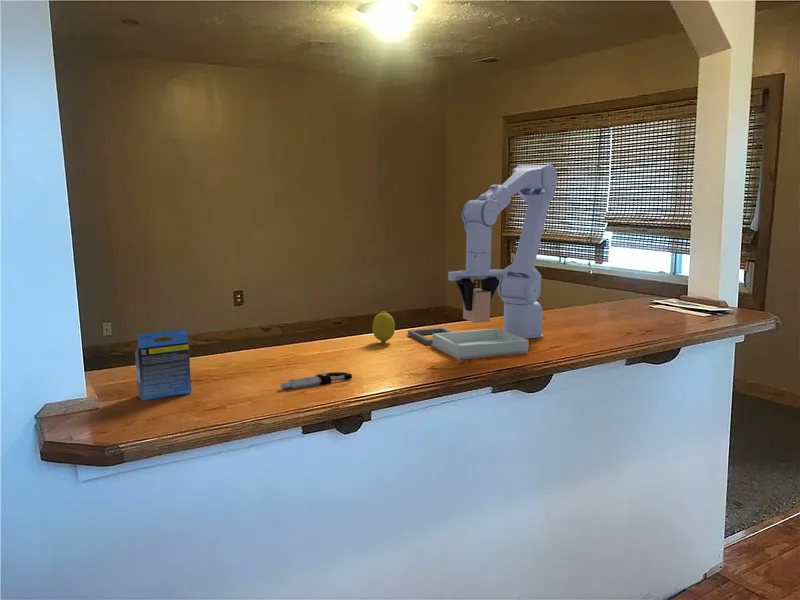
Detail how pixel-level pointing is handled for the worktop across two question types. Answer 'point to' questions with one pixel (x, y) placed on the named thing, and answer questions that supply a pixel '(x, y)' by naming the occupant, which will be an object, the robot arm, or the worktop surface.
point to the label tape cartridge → (163, 365)
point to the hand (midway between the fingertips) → (477, 309)
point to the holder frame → (418, 333)
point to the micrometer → (315, 380)
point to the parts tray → (480, 343)
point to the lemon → (383, 326)
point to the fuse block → (479, 307)
